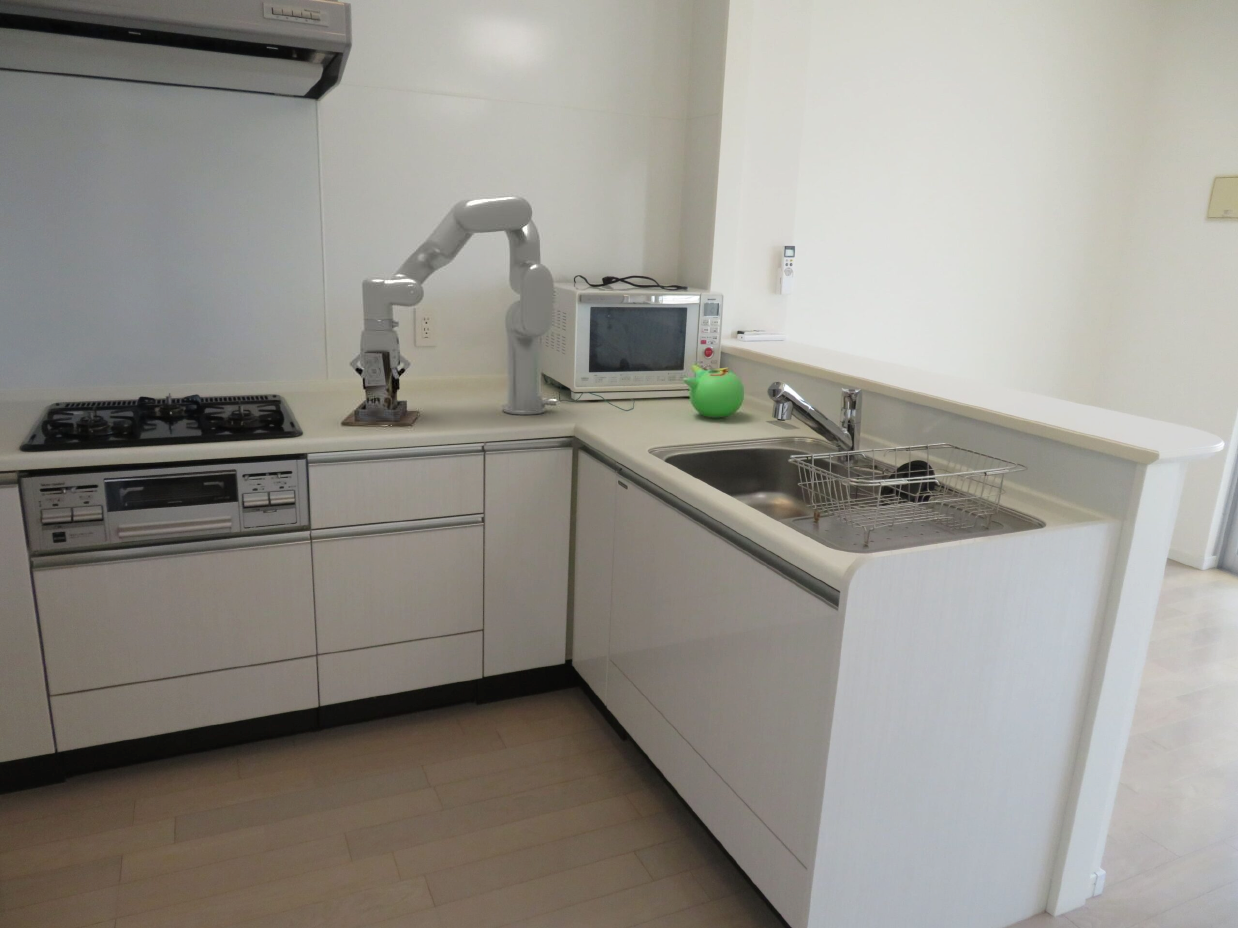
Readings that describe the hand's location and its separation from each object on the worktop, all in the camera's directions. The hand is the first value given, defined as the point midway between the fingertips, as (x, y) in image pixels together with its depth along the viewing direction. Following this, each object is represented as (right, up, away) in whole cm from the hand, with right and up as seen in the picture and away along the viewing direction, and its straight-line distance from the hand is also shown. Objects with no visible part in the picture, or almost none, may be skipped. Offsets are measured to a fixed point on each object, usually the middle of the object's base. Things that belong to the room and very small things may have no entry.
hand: (381, 391), depth 242 cm
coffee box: (0, -5, +1) cm, 5 cm away
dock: (0, -7, +2) cm, 8 cm away
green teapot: (+91, -6, +20) cm, 94 cm away
